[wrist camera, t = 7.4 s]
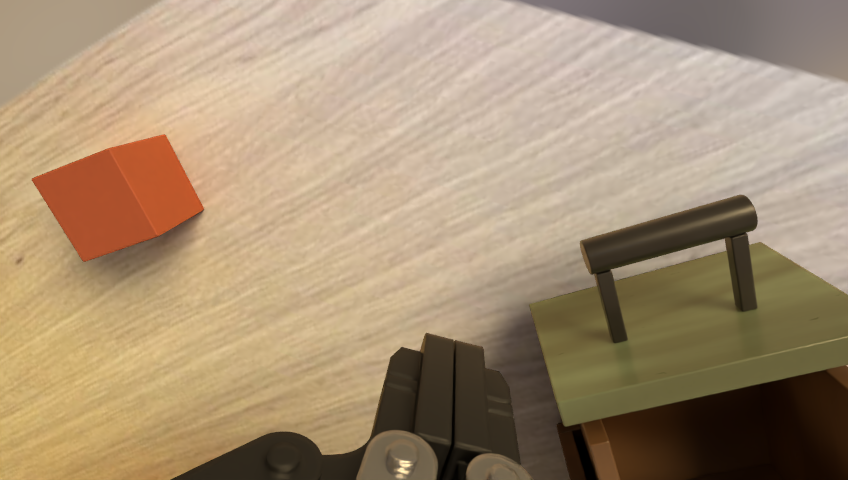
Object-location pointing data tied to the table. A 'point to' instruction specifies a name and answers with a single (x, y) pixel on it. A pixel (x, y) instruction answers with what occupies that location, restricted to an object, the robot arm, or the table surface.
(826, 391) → the drawer
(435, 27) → the table surface
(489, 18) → the table surface
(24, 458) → the table surface
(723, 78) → the table surface
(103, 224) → the block
